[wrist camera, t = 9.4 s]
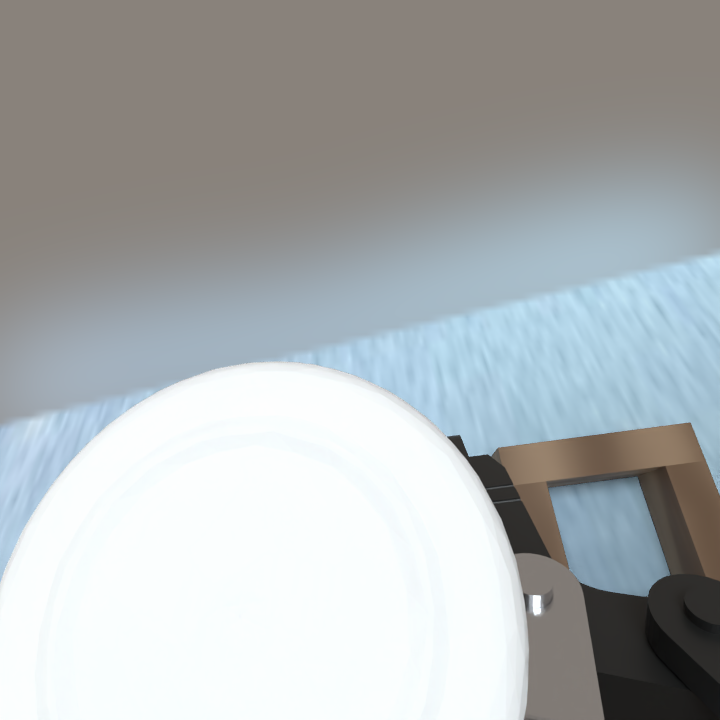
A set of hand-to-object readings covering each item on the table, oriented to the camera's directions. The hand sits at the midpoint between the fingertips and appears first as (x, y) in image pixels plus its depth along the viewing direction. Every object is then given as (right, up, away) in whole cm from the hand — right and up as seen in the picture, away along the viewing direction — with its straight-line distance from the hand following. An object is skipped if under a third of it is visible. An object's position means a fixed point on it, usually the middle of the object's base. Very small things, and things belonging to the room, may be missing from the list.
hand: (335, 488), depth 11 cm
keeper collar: (+15, -8, +18) cm, 25 cm away
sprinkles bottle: (+1, -4, +5) cm, 7 cm away
